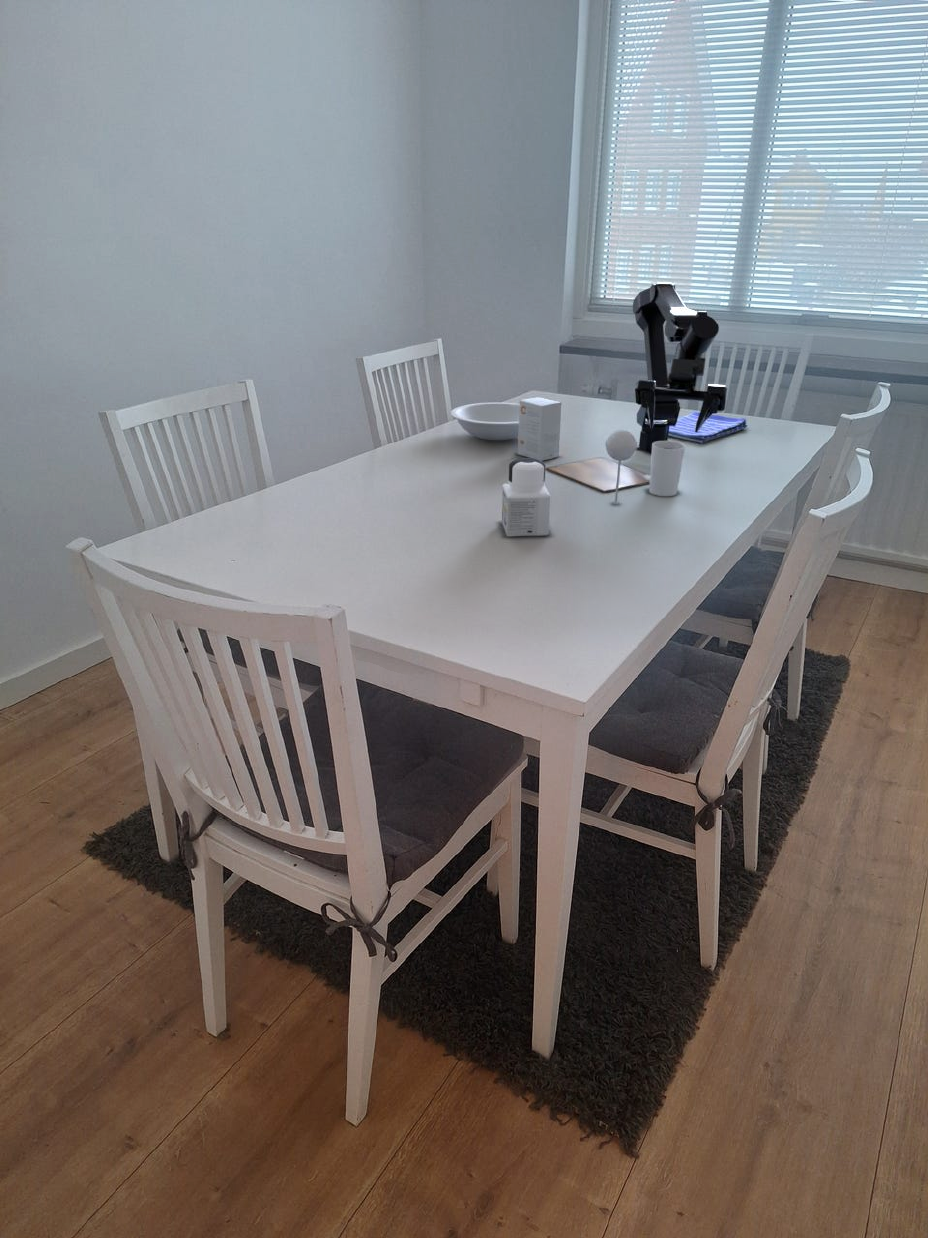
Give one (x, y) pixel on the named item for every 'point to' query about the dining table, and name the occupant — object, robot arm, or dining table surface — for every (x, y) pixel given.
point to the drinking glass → (665, 467)
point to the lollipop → (620, 449)
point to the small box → (539, 428)
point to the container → (526, 499)
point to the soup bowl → (489, 420)
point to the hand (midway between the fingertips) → (673, 429)
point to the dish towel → (705, 427)
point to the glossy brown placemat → (601, 474)
